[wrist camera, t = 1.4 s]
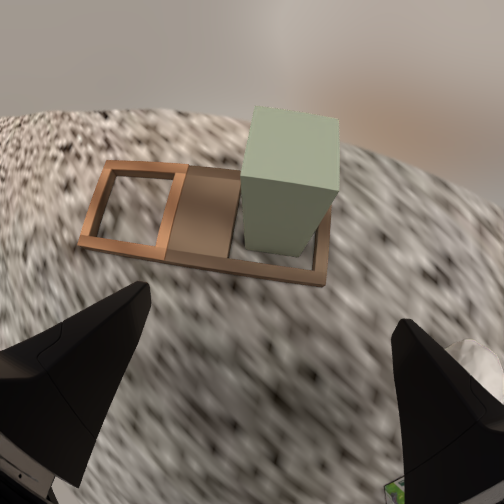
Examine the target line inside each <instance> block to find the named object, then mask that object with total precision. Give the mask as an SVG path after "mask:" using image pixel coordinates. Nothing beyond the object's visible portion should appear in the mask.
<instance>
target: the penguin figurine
mask: <svg viewBox="0 0 504 504" xmlns="http://www.w3.org/2000/svg"><path fill="white" fill-rule="evenodd" d="M445 350H446V351H447V352H448V353H449V354H450V355H451V356H452V357H453V358H454V359H455V360H456V361H457V362H458V363H459V364H460V365H461V366H462V367H463V368H464V369H466V370H467V371H468V372H469V373H470V375H472V376H473V377H474V378H475V379H476V380H477V381H478V382H479V383H480V384H481V385H482V386H483V387H484V388H485V389H486V390H487V391H488V392H490V393H491V394H492V395H493V396H494V397H495V398H496V399H497V400H499V401H500V402H501V403H502V404H503V402H504V395H503V394H504V372H503V369H502V366H501V364H500V361H499V358H498V356H497V355H496V354H495V353H494V352H493V351H492V350H491V349H489V348H487V347H485V346H483V345H480V344H479V343H478V342H477V341H475V340H472V339H465V340H463V341H460V342H456V343H454V344H452V345H450V346H449V347H448V348H445Z"/></svg>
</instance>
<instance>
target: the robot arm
mask: <svg viewBox="0 0 504 504" xmlns="http://www.w3.org/2000/svg"><path fill="white" fill-rule="evenodd" d="M150 308H151V293H150V286H149V284H148V283H147V282H142V281H136V282H134V283H132V284H130V285H129V286H127V287H125V288H123V289H121V290H119V291H117V292H115V293H113V294H112V295H110V296H108V297H106V298H104V299H102V300H100V301H99V302H97V303H95V304H93V305H91V306H89V307H88V308H86V309H84V310H82V311H80V312H78V313H77V314H75V315H73V316H71V317H69V318H67V319H66V320H64V321H63V322H60V323H58V324H57V325H55V326H53V327H51V328H49V329H47V330H45V331H44V332H42V333H39V334H37V335H35V336H33V337H31V338H29V339H27V340H25V341H22V342H20V343H18V344H16V345H14V346H11V347H9V348H7V349H5V350H2V351H0V504H58V501H57V499H56V497H55V494H54V492H53V490H52V487H51V486H52V483H53V481H54V478H55V476H56V477H58V478H60V479H61V480H63V481H65V482H67V483H69V484H70V485H72V486H74V487H76V488H79V486H80V484H81V481H82V478H83V475H84V472H85V469H86V467H87V464H88V461H89V458H90V456H91V453H92V450H93V448H94V445H95V442H96V439H97V437H98V434H99V432H100V429H101V427H102V424H103V422H104V419H105V417H106V415H107V412H108V410H109V407H110V405H111V403H112V400H113V398H114V396H115V393H116V391H117V389H118V386H119V384H120V382H121V380H122V377H123V375H124V373H125V371H126V368H127V366H128V364H129V362H130V360H131V358H132V355H133V353H134V351H135V349H136V347H137V345H138V342H139V340H140V337H141V334H142V331H143V328H144V325H145V322H146V319H147V316H148V314H149V311H150ZM391 346H392V359H393V373H394V381H395V387H396V394H397V401H398V409H399V417H400V426H401V436H402V448H403V463H404V504H504V405H503V404H502V403H501V402H500V401H499V400H497V399H496V398H495V397H494V396H493V395H492V394H491V393H490V392H488V391H487V390H486V389H485V388H484V387H483V386H482V385H481V384H480V383H479V382H478V381H477V380H476V379H475V378H474V377H473V376H472V375H470V373H469V372H468V371H467V370H466V369H464V368H463V367H462V366H461V365H460V364H459V363H458V362H457V361H456V360H455V359H454V358H453V357H452V356H451V355H450V354H449V353H448V352H447V351H446V350H445V349H443V348H442V347H441V346H440V345H439V344H438V343H437V342H436V341H435V340H434V339H433V338H432V337H430V336H429V335H428V334H427V333H426V332H425V331H424V330H423V329H422V328H421V327H419V326H418V325H417V324H416V323H415V322H414V321H413V320H411V319H404V318H403V319H401V320H400V321H399V323H398V324H397V326H396V328H395V330H394V332H393V334H392V337H391Z"/></svg>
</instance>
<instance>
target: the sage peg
mask: <svg viewBox="0 0 504 504" xmlns="http://www.w3.org/2000/svg"><path fill="white" fill-rule="evenodd" d="M240 179H241V194H242V209H243V223H244V237H245V250H251V251H258V252H265V253H272V254H279V255H285V256H292V257H299V256H300V254H301V253H302V251H303V250H304V248H305V246H306V245H307V243H308V242H309V240H310V238H311V237H312V235H313V234H314V232H315V230H316V229H317V227H318V225H319V224H320V222H321V220H322V219H323V217H324V216H325V214H326V212H327V211H328V209H329V207H330V206H331V204H332V202H333V200H334V199H335V197H336V195H337V194H338V192H339V119H335V118H330V117H325V116H320V115H315V114H309V113H303V112H296V111H290V110H284V109H277V108H269V107H261V106H255V108H254V112H253V117H252V121H251V126H250V131H249V136H248V140H247V145H246V150H245V155H244V160H243V165H242V169H241V174H240Z"/></svg>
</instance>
